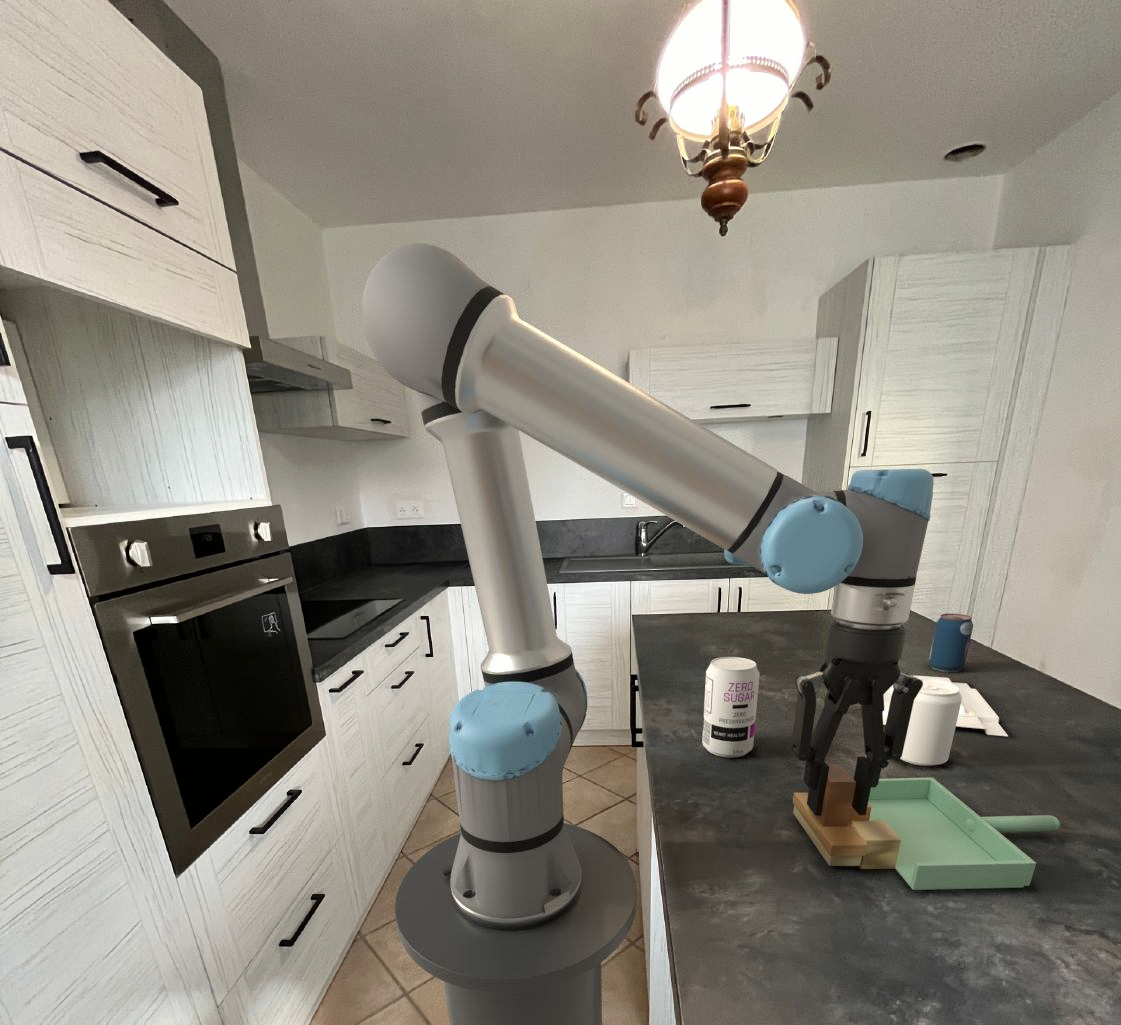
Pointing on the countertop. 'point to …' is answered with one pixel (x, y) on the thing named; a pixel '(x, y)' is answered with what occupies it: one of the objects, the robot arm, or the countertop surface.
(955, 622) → the soda can
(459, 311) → the robot arm
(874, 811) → the dustpan
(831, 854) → the brush
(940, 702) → the beverage can
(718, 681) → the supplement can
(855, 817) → the chunk
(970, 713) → the tray
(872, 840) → the chunk
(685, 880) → the countertop surface
